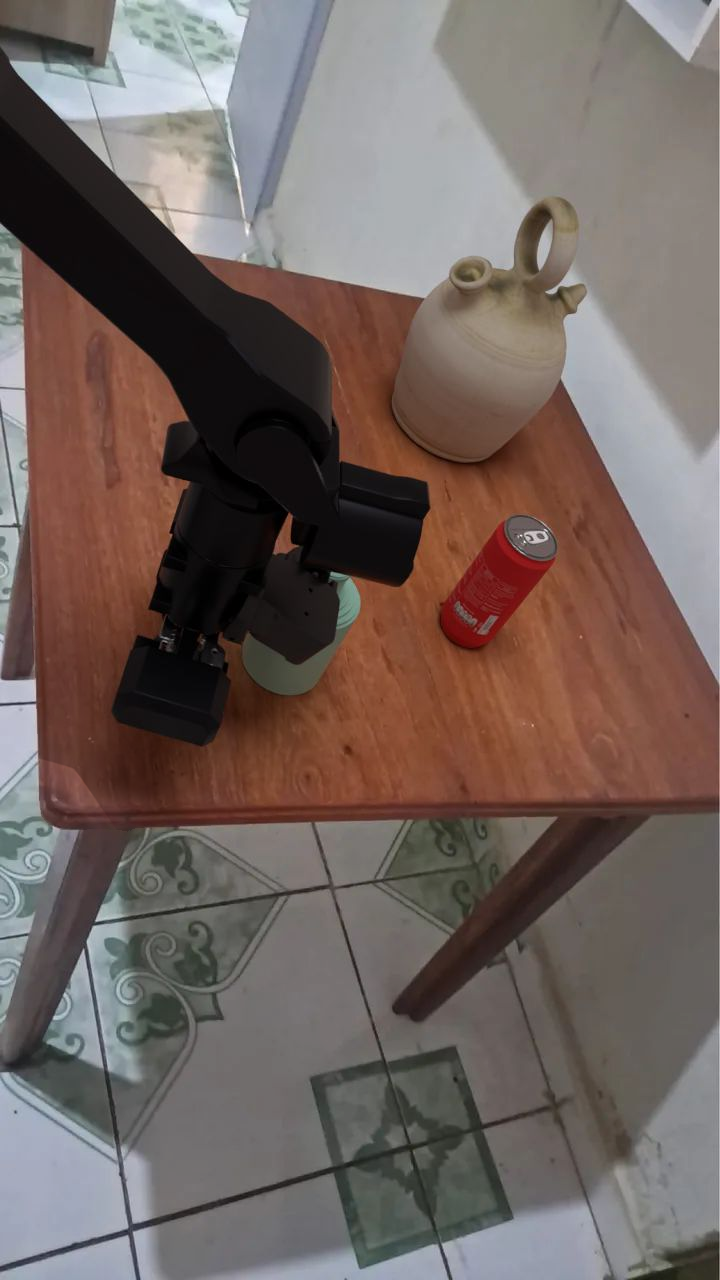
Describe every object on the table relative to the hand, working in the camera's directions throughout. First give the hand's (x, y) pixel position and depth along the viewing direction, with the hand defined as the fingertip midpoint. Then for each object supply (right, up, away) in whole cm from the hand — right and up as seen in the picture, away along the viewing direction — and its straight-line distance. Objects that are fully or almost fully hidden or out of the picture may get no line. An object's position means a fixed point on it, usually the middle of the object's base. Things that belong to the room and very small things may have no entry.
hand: (169, 677), depth 67 cm
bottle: (+7, +1, +6) cm, 10 cm away
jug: (+22, +25, +32) cm, 47 cm away
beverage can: (+22, +4, +16) cm, 28 cm away
